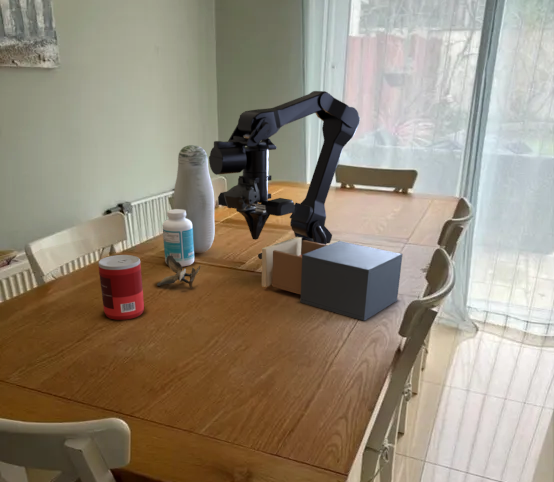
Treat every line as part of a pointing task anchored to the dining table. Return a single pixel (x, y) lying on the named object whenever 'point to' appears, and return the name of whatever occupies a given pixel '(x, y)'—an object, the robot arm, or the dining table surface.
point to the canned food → (121, 286)
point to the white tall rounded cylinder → (196, 195)
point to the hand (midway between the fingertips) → (255, 239)
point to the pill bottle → (178, 237)
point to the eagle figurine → (178, 273)
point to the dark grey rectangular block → (350, 279)
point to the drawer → (285, 263)
